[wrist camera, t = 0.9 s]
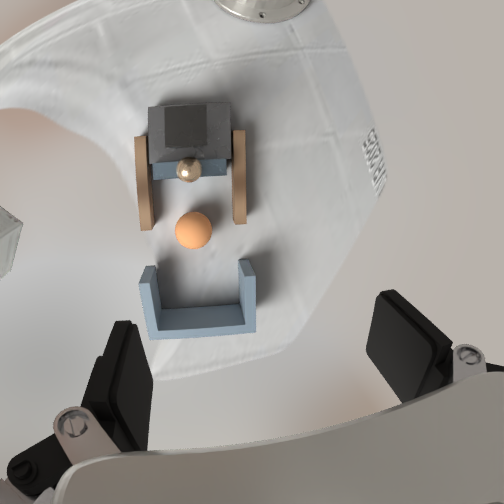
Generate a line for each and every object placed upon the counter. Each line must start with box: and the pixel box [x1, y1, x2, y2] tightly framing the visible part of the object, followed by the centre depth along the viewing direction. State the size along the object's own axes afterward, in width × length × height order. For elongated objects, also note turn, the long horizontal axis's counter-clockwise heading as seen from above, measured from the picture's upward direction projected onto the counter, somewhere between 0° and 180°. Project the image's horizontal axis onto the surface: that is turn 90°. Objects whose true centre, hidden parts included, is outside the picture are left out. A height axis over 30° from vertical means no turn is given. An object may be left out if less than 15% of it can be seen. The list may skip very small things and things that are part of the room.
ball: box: [175, 212, 212, 249], centre depth 32 cm, size 4×4×4 cm
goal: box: [139, 259, 256, 340], centre depth 34 cm, size 7×12×5 cm, turn 91°
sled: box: [148, 102, 231, 182], centre depth 26 cm, size 8×8×10 cm
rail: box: [134, 130, 247, 231], centre depth 31 cm, size 10×11×2 cm
